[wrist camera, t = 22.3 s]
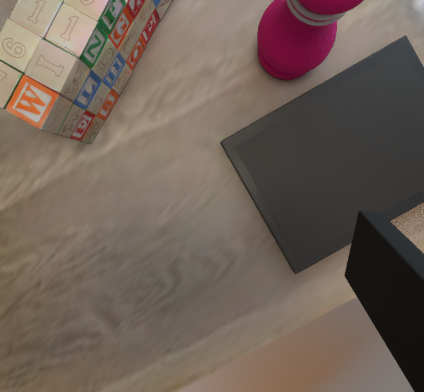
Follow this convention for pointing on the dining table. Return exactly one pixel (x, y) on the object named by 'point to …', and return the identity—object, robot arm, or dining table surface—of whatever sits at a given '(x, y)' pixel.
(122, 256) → the dining table surface
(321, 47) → the pepper mill
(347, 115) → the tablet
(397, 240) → the robot arm
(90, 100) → the stack of blocks
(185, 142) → the dining table surface
